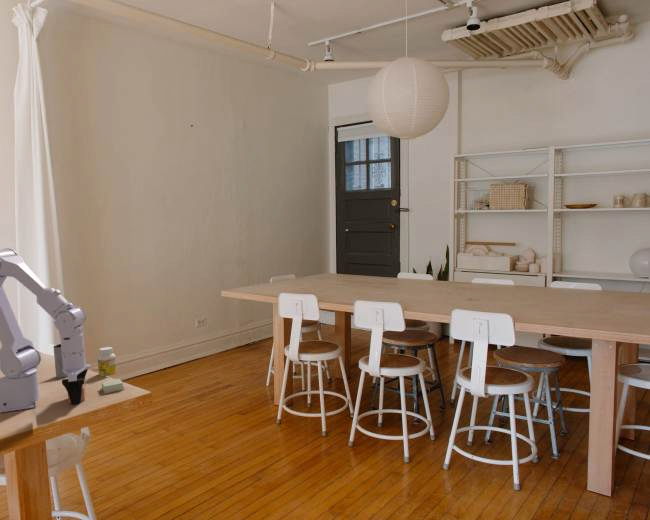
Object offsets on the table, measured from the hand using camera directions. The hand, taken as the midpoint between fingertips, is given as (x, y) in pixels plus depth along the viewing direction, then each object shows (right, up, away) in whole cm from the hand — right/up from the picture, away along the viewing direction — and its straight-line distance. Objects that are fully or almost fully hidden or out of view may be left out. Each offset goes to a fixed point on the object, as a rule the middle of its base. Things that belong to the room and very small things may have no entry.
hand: (77, 399), depth 148 cm
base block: (+7, -1, +8) cm, 10 cm away
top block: (+7, +1, +8) cm, 10 cm away
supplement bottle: (-1, +1, +24) cm, 24 cm away
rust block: (0, -2, 0) cm, 2 cm away
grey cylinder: (-17, 0, +28) cm, 33 cm away
